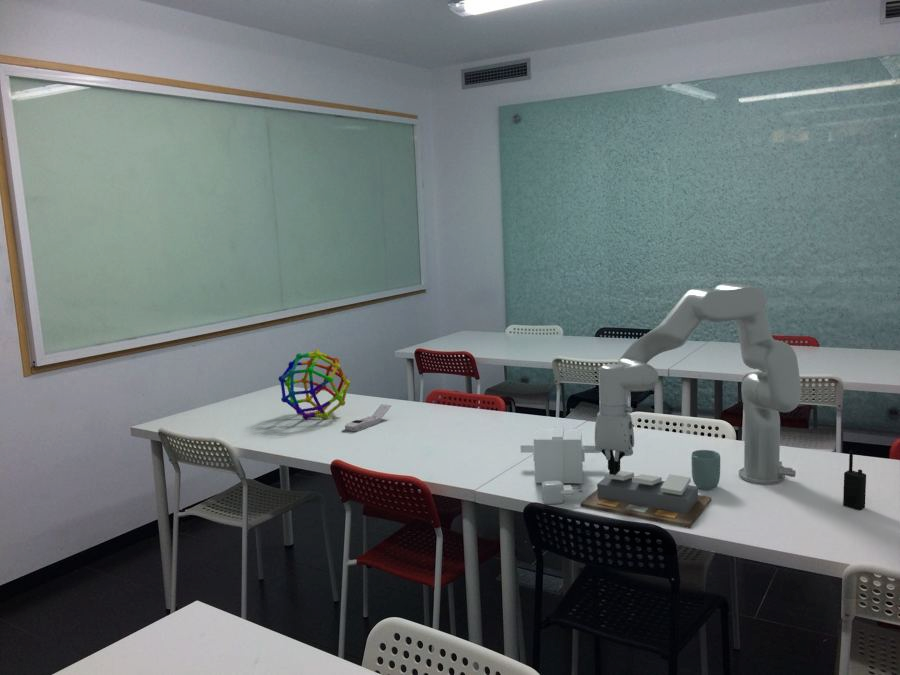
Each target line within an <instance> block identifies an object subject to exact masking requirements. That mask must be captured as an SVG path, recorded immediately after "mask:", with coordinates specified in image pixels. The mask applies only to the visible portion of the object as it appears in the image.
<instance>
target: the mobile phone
mask: <svg viewBox="0 0 900 675" xmlns="http://www.w3.org/2000/svg"><path fill="white" fill-rule="evenodd" d="M391 407H392V405H390V404H380V405H379V406H378V408H377V409H376V410H375V411H374V412H373V414H372V415H371V416H367V417H363V418H361V419H360V418H359V419H354V420H352V421H350V422H348V423H345V425H344V429H342V430H341V433H344V432H347V431H351V432H359V431H362V430H364V429H368V428H371V427H373V426H375V425H378V424H380V423H381V419H382V418H383V417H384V416H385V415H386V413H387V412H388V411H389V410H390V409H391Z"/></svg>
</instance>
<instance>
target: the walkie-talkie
mask: <svg viewBox="0 0 900 675" xmlns="http://www.w3.org/2000/svg"><path fill="white" fill-rule="evenodd" d="M848 457H849V458H848V470H846V471H845V472H844V473H843V494H842V497H843V498H842V499H843V500H842V502H843V503H842V505H843V507H845V508H850V509H854V510H856V511H861V510H864V509H865V508H866V493H867V492H866V490H867V487H866V486H867V474H866V473H863V470H862V469H860V468H859V469H857V471H856V470H853V463H854V462H853V461H854V460H853V459H854V458H853V457H854V451H853V450H849V456H848Z"/></svg>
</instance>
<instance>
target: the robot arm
mask: <svg viewBox="0 0 900 675" xmlns="http://www.w3.org/2000/svg"><path fill="white" fill-rule="evenodd" d="M767 302H768V298H767V296H766V293H765V292H764V290H762V289H761V288H760V287H758V286H754V285H750V284H749V285H748V284H740V283H732V282H723V283H720V284H718V285H716V286H715V287H714V288H713V289H706V288H691V289H688V291H686V292H685V293H684V294H683V295H682V296H681V298H680V299H679V300H678V301H677V303H675V305H674V306H673V307H672V309H671V310H670V311H669V312H668V314H667V315H665V317H664V318H663V320H662V321H661V322H660V324H658V325H657V326H656V327H655V328H653V329H651V330H649V332H647V333H646V334H644V335H642V336H641V337H640V338H638V339H637V340H635V341H634V342H633V343H632V344H631V345H630V346H629V347H628V348H627V349H626V350H625V352H624V353H623V354H622V355H621V356H620V358H619V359H618V361H617V362H616V363H608V364H607V363H606V364H604V365H601V366H600V367H599V369H598V393H599V394H598V396H599V400H598V401H599V409H598V410H599V411H598V412H597V415H596V420H595V426H594V444H595V445H596V446H595V450H596V451H599V452H600V453H602V455H603V456H604V457H605V458H606V460H607V470H608V472H609V474H613V475H616V474H617V473H618V472H619V471H621V459H622V458H624V457H630V456H632V455H634V450H633V448H634V447H635V432H634V424H633V419H632V414H630V413H632V412H633V407H632V406H629V403H628V392H629V391H636V392H645V391H649V390H652V389H653V388H654V387H655V386H656V385H657V384H658V382H659V372H658V371H657V369H656V368H655V367H654V366H652V365H650V364H649V362H650V360H652V359H653V358H654V357H656V356H658V355H660V354H662V353H664V352H665V353H666V352H668V351H672V350H675V349H678V348H680V347H682V346H684V345H685V344H686V343H687V341H688V340H689V339H690V337H691V336H692V335H693V334H694V333H695V331H697V329H698V327H699V326H700V325H701V324H702V323H703V322H704V321H705V322H706V321H707V322H710V323H722V322H731V321H734V322H735V325H736V328H737V331H738V338H739V339H738V340H739V345H740V352H741V357H742V358H741V359H742V361H743V364H744V365H745V366H747V367H748V368H750V369H752V370H756V371H753V372H750V373H748V374H747V375H746V376H745V377H744V379H742V380H743V381H742V382H741V383H742V384H741V390H740V391H741V396H742V402H743V408H744V450H743V451H744V453H743V456H744V457H743V458H744V459H743V460H744V461H743V466H744V467H741V468H740V469H739V470H738V476H739V477H740V479H742V480H744V481H745V482H746V481H747V482H749V483H754V484H758V485H759V484H760V485H774V484H779V483H781V482H784V481H785V479H786V477H791V478H795V477H796V476H797V475H796V473H797V471H796V470H795V469H793V467H785V466H784V465H783V461H780V457H781V456H780V448H781V447H780V446H781V444H780V443H781V441H780V440H781V439H780V438H781V418H780V413H789V412H792V411H794V410H795V409H796V408H797V407H798V406H799V404H800V402H801V398H802V385H801V377H800V370H799V363H798V357H797V354H796V352H795V350H794V348H793V347H792V346H791V345H790V344H789V343H788V342H785V341H782V340H779V339H778V340H777V339H774V338H773V335H772V334H773V333H772V330H771V326H770V321H769V317H768V314H767V312H766V310H765V309H766V306H767Z"/></svg>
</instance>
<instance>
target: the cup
mask: <svg viewBox="0 0 900 675" xmlns="http://www.w3.org/2000/svg"><path fill="white" fill-rule="evenodd" d="M691 477H692V482H693V484H694V486H697V487H698V489H700V490H706V491H708V490H714V489H716V488H717V487H718V485H719V483H720V478H721V454H720V453H719V452H718V451H715V450H709V449H700V450H694V451H692V452H691Z"/></svg>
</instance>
